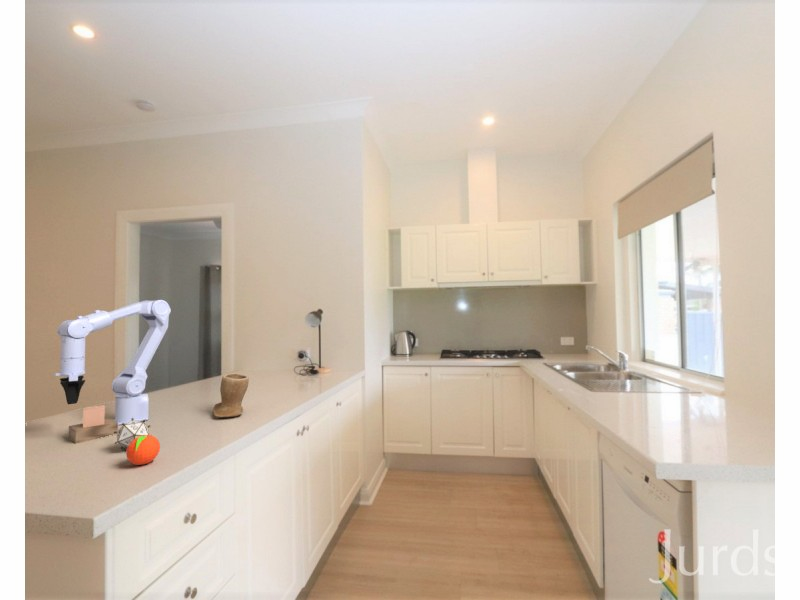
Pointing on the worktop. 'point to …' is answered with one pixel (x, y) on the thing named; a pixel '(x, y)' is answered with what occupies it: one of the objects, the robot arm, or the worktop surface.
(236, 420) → the worktop surface
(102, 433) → the walnut block
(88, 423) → the terracotta cube
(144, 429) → the game die
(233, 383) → the brown boot
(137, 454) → the clementine
